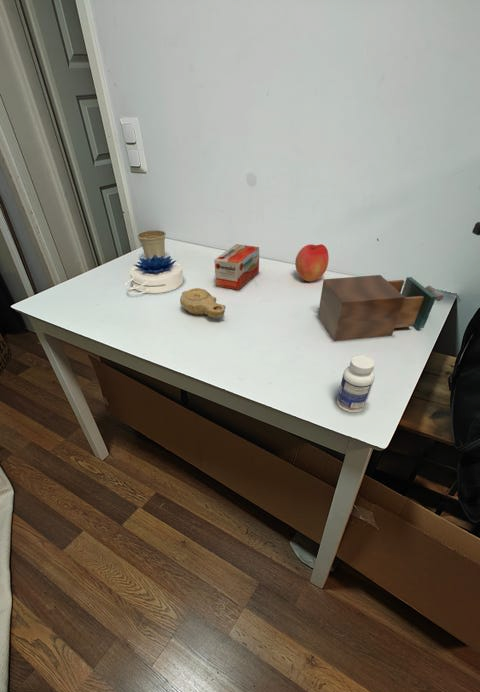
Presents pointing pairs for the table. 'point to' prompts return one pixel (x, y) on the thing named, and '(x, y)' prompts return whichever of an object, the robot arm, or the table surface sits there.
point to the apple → (312, 262)
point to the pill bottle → (356, 384)
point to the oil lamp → (201, 303)
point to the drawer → (415, 302)
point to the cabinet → (359, 307)
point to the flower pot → (153, 243)
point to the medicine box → (236, 266)
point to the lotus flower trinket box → (155, 275)
